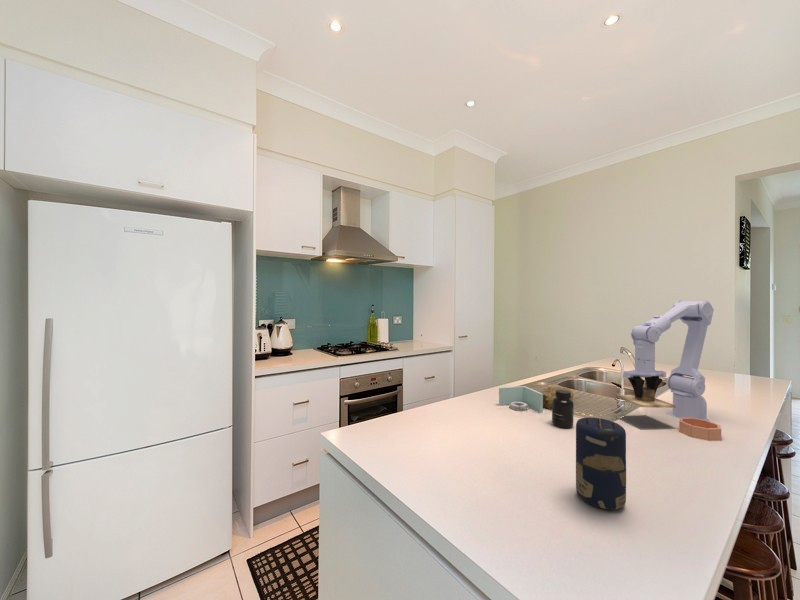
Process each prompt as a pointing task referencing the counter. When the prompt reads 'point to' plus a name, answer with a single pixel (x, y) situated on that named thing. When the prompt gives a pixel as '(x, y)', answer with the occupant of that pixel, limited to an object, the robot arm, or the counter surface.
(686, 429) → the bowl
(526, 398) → the teal corner wall
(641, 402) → the lid
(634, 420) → the mat
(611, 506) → the canister
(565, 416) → the supplement bottle
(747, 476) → the counter surface
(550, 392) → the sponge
